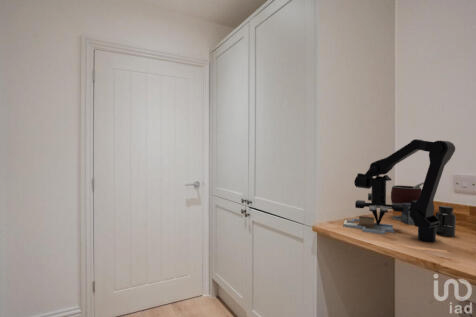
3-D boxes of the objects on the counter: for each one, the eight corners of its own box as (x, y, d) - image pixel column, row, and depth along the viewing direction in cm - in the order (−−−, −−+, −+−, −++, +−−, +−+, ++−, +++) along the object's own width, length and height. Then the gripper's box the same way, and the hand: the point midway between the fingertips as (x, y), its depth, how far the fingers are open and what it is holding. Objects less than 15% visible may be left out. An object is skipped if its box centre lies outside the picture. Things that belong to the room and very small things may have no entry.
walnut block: (374, 228, 119) (374, 219, 119) (359, 227, 122) (359, 218, 122) (373, 226, 123) (374, 217, 123) (359, 224, 126) (359, 216, 126)
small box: (423, 224, 132) (423, 202, 132) (431, 227, 126) (431, 205, 126) (400, 223, 133) (400, 202, 133) (407, 226, 127) (407, 204, 127)
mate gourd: (394, 221, 137) (394, 182, 137) (387, 215, 150) (388, 179, 150) (429, 224, 132) (430, 183, 132) (420, 217, 146) (420, 180, 145)
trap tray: (391, 226, 127) (391, 222, 126) (395, 238, 109) (395, 233, 109) (345, 221, 135) (345, 217, 135) (342, 231, 118) (342, 226, 118)
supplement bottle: (446, 237, 111) (447, 208, 110) (430, 233, 117) (431, 205, 117) (459, 236, 112) (460, 207, 112) (443, 231, 119) (443, 204, 119)
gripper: (401, 189, 123) (400, 223, 124) (356, 186, 132) (356, 218, 132) (404, 192, 113) (403, 229, 114) (355, 189, 122) (354, 224, 122)
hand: (378, 225), depth 121 cm, fingers closed
